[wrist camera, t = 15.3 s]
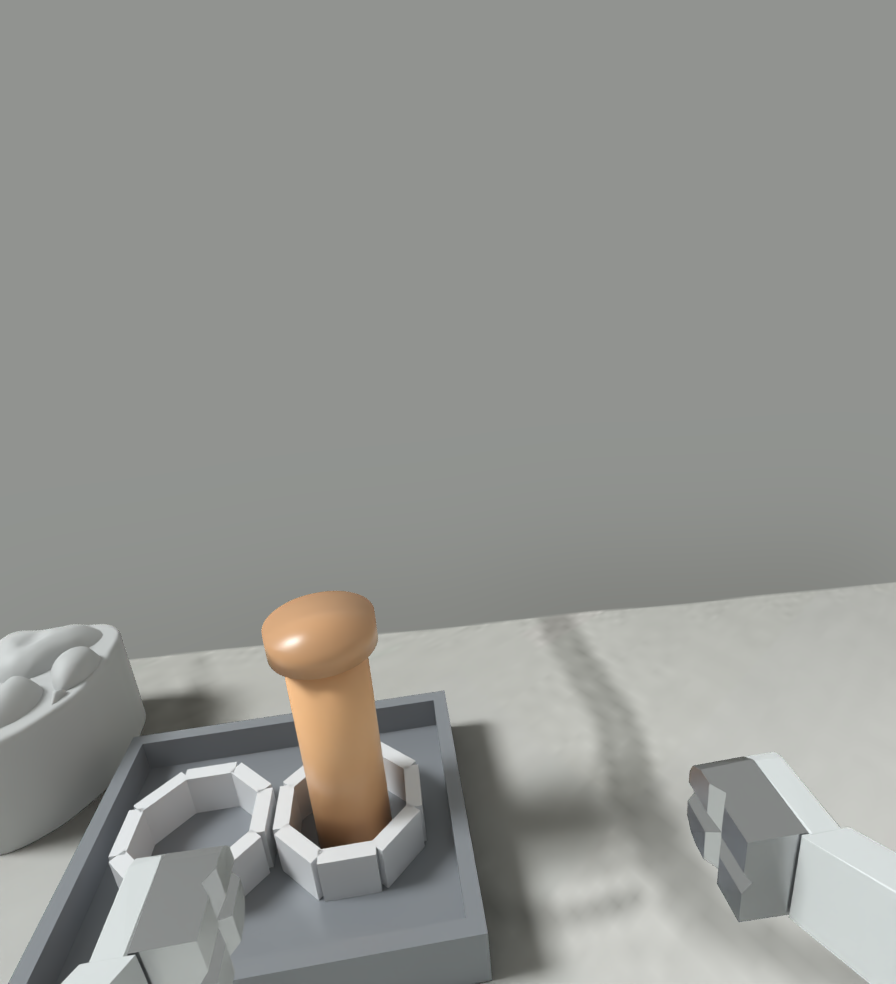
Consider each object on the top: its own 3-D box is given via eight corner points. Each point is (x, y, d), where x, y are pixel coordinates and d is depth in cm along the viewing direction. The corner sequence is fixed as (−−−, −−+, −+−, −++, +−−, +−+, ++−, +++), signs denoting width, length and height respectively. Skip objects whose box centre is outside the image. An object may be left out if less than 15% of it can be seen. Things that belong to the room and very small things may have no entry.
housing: (492, 980, 27) (487, 924, 26) (11, 1072, 25) (-18, 1017, 24) (448, 726, 42) (443, 684, 40) (145, 773, 40) (131, 730, 39)
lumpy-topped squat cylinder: (161, 697, 48) (131, 600, 45) (85, 843, 35) (37, 723, 32) (21, 716, 47) (-18, 618, 44) (-105, 872, 35) (-171, 751, 32)
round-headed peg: (340, 782, 37) (304, 585, 32) (419, 805, 35) (393, 598, 30) (288, 857, 32) (237, 641, 27) (375, 889, 30) (336, 661, 25)
